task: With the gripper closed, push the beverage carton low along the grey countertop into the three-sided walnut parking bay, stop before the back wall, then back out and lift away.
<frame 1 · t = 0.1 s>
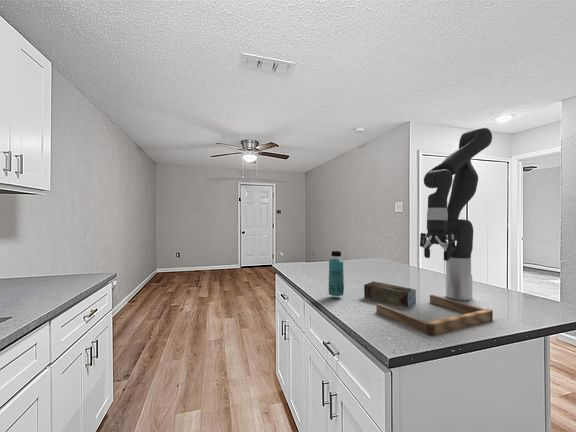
hand: (436, 259, 114), 17 cm above the counter, tool pointing down, fingers open, 8 cm apart
beverage bottle: (336, 298, 120), on the counter
parking bay: (432, 316, 97), on the counter
beverage carton: (389, 302, 115), on the counter
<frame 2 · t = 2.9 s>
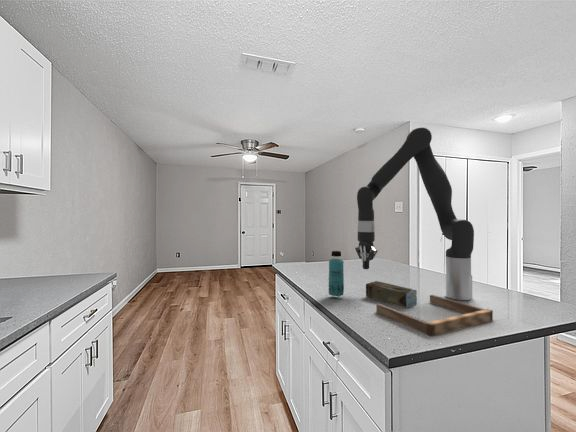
hand: (365, 268, 128), 11 cm above the counter, tool pointing down, fingers closed
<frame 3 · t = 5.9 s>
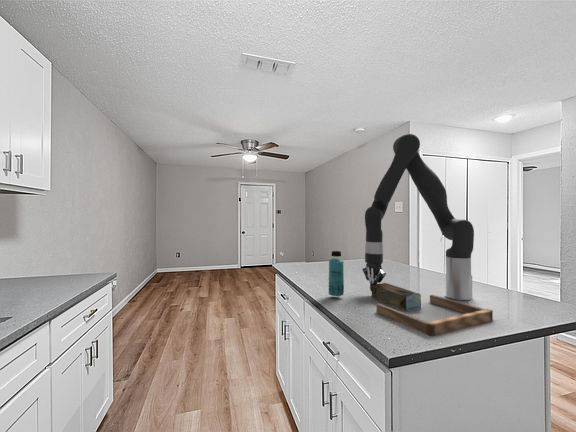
hand: (373, 291, 123), 2 cm above the counter, tool pointing down, fingers closed
beverage carton: (394, 304, 112), on the counter, touching gripper
everything else where it was.
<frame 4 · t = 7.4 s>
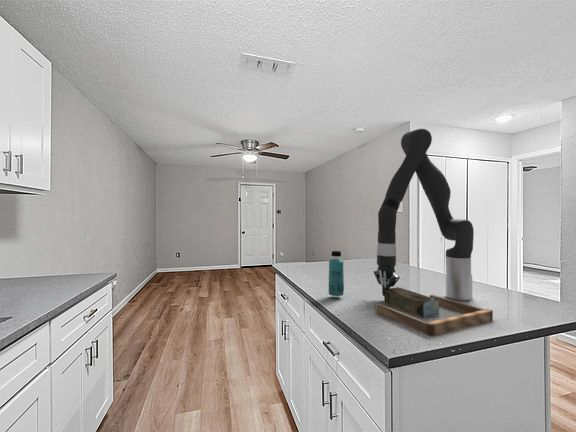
hand: (385, 295, 116), 2 cm above the counter, tool pointing down, fingers closed
beverage carton: (409, 310, 105), on the counter
everything else where it was.
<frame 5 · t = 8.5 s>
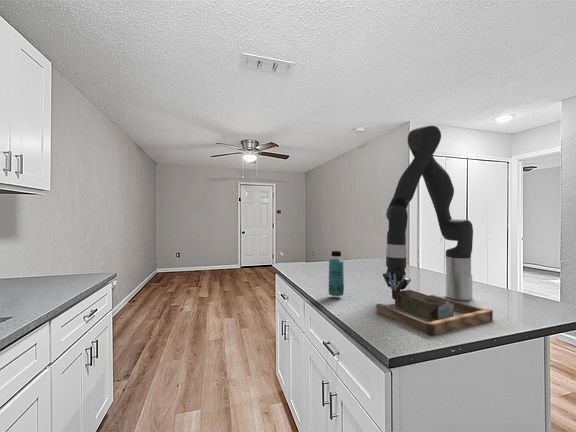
hand: (395, 299, 112), 2 cm above the counter, tool pointing down, fingers closed
beverage carton: (422, 314, 100), on the counter, touching gripper
everything else where it was.
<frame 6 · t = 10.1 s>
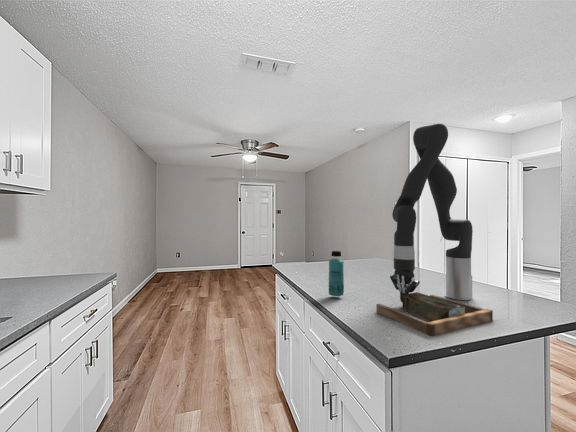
hand: (404, 302, 108), 2 cm above the counter, tool pointing down, fingers closed
beverage carton: (431, 318, 97), on the counter
everything else where it was.
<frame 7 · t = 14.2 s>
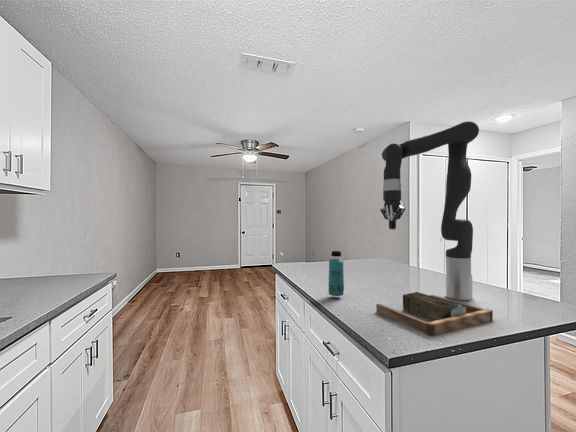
hand: (392, 229, 124), 29 cm above the counter, tool pointing down, fingers closed
nothing on the counter moved.
at the end: beverage carton inside the target area (1.1 cm from its centre), on the counter; beverage carton touching counter; beverage bottle moved 0.2 cm from its start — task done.
